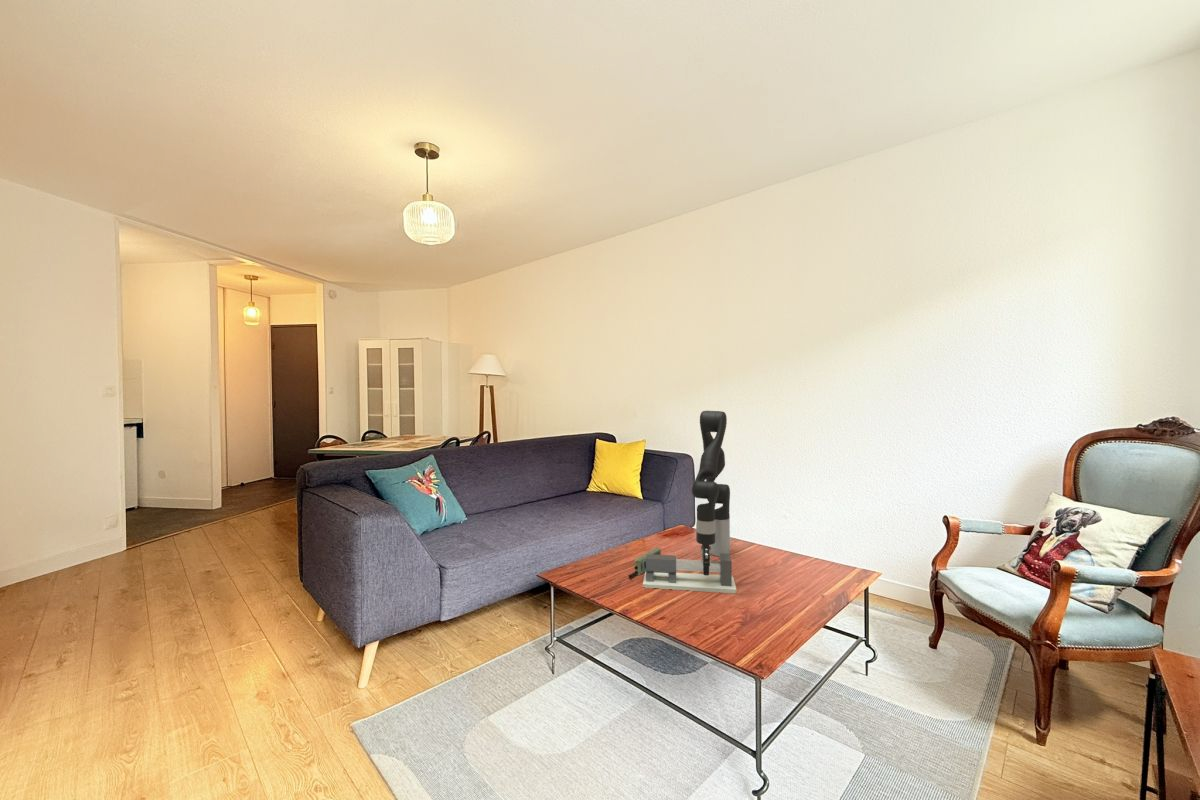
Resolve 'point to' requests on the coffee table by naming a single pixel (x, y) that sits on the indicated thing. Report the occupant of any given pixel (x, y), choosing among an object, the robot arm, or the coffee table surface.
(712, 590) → the base board
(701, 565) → the silver metal bar
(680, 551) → the coffee table surface
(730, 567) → the socket
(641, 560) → the handheld radio
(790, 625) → the coffee table surface
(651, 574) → the sleeve
